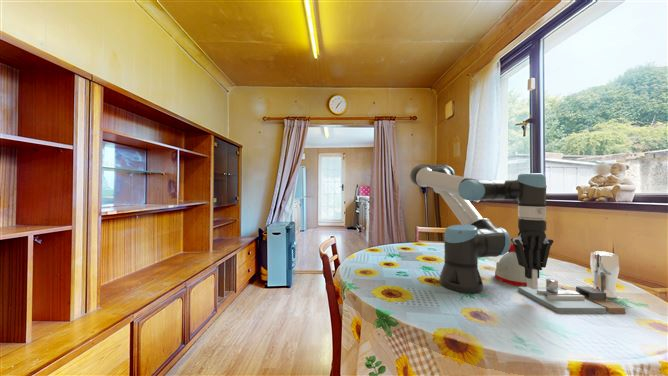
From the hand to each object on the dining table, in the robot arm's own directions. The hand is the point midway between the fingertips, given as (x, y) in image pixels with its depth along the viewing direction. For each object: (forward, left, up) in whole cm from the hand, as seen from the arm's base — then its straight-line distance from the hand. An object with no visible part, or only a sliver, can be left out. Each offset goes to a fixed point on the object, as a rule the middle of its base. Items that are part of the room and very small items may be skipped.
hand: (532, 287), depth 83 cm
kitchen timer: (+8, +19, -5) cm, 21 cm away
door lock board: (+11, 0, -5) cm, 12 cm away
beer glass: (+30, +5, -5) cm, 31 cm away
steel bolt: (+10, 0, -3) cm, 11 cm away
